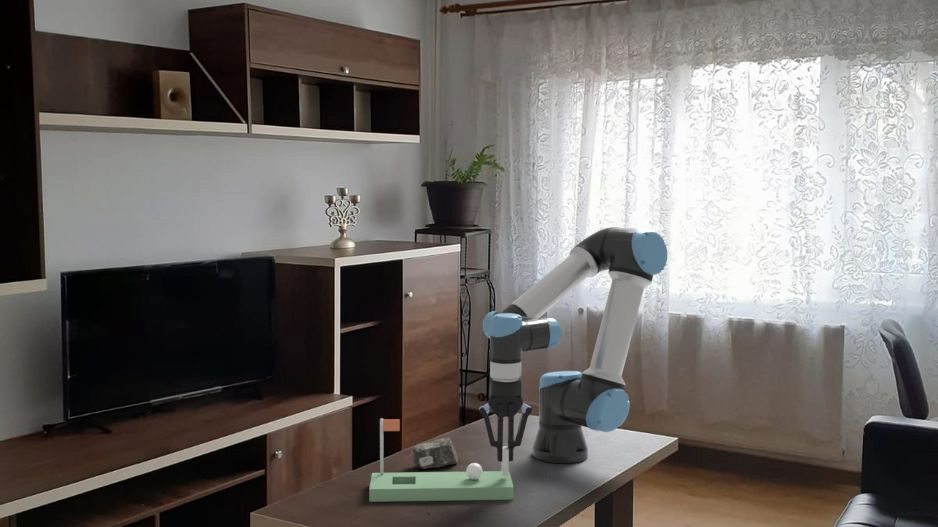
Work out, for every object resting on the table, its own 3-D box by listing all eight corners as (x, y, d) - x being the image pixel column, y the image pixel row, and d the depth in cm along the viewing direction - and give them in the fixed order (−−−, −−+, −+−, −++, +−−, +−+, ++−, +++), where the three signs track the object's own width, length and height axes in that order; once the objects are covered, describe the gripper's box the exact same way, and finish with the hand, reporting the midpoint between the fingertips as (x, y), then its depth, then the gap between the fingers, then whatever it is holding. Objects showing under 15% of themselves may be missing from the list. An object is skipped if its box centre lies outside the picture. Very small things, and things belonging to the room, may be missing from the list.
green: (509, 482, 232) (509, 416, 230) (513, 499, 220) (514, 429, 218) (372, 484, 230) (371, 417, 229) (369, 501, 218) (368, 430, 217)
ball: (482, 476, 227) (482, 460, 227) (483, 482, 223) (483, 465, 223) (465, 476, 227) (465, 460, 227) (466, 482, 223) (466, 466, 223)
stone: (434, 488, 240) (416, 456, 238) (420, 485, 246) (402, 454, 244) (472, 456, 247) (454, 425, 245) (457, 454, 253) (440, 423, 251)
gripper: (530, 374, 227) (529, 468, 230) (477, 375, 227) (477, 469, 229) (534, 381, 220) (533, 478, 222) (479, 382, 219) (479, 479, 221)
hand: (505, 474), depth 225 cm, fingers closed
